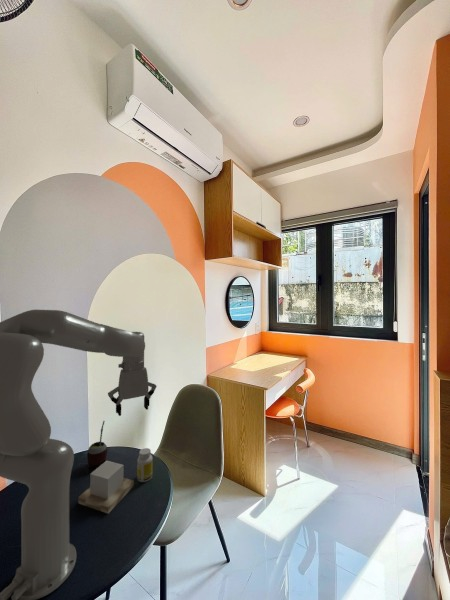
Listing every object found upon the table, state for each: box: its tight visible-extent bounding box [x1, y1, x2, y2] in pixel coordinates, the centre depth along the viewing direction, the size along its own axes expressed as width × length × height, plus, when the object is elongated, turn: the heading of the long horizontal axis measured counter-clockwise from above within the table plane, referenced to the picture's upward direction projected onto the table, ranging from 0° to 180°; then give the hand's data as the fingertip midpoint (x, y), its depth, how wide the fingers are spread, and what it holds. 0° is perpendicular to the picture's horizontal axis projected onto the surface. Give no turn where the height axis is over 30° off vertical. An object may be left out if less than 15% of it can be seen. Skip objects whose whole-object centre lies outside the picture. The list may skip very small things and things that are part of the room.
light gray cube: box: [89, 460, 125, 499], centre depth 86 cm, size 7×7×7 cm
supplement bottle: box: [136, 447, 154, 483], centre depth 94 cm, size 5×5×10 cm
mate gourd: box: [86, 420, 108, 470], centre depth 101 cm, size 8×8×15 cm
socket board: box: [77, 477, 135, 514], centre depth 86 cm, size 12×12×2 cm
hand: (133, 411), depth 95 cm, fingers open, 9 cm apart
